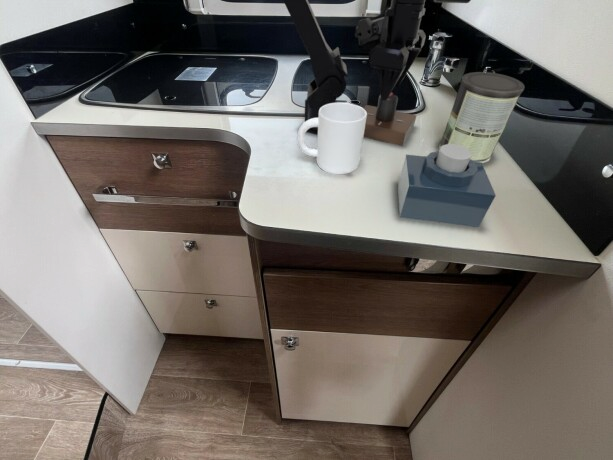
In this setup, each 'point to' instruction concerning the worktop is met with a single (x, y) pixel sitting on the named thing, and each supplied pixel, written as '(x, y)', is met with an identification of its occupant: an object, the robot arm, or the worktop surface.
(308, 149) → the mug
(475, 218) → the button base
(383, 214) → the worktop surface
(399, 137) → the dial panel
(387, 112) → the dial
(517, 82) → the coffee can
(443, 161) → the push button
